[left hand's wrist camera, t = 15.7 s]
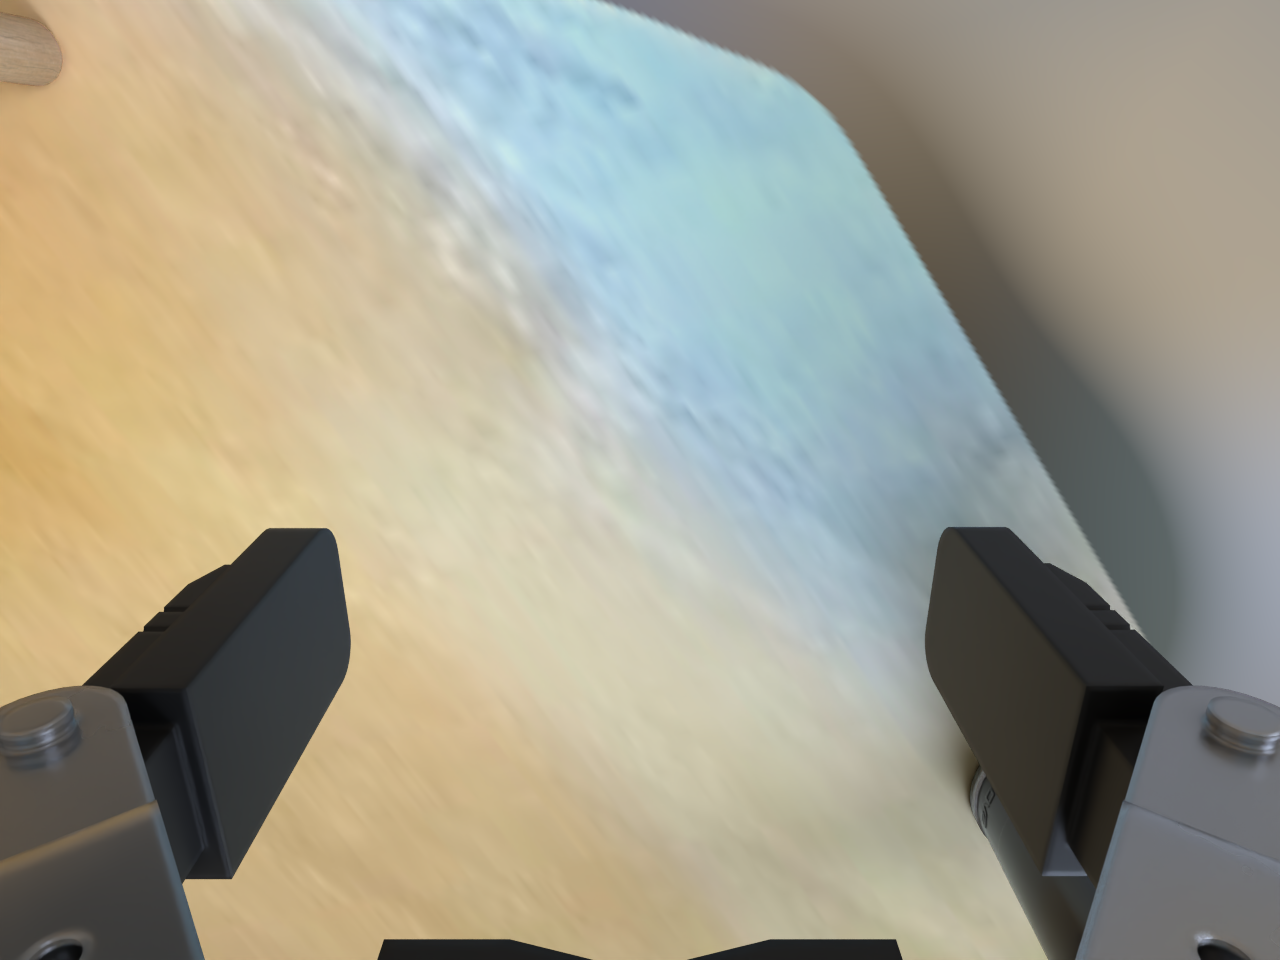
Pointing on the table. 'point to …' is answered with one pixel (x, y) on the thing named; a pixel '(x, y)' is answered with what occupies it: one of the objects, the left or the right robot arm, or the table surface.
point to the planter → (27, 51)
